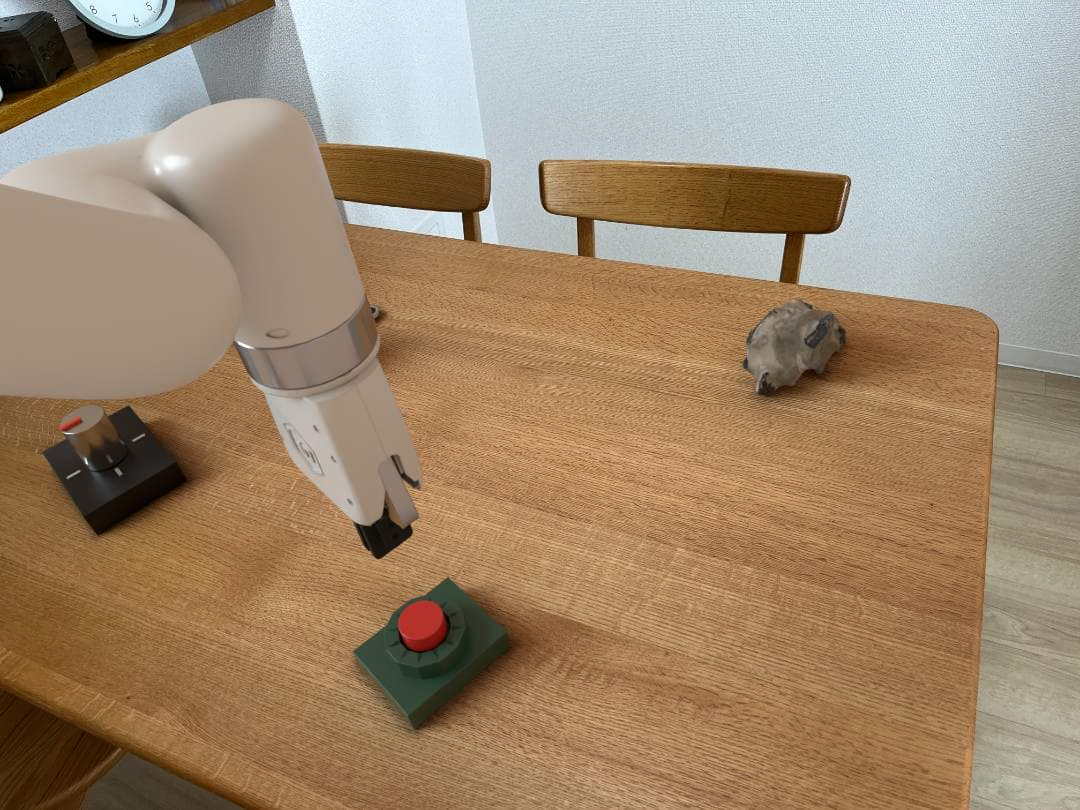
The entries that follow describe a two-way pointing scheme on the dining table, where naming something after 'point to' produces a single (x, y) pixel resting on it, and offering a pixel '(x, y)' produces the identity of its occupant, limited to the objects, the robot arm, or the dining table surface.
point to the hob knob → (94, 437)
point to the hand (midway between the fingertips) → (389, 541)
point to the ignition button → (422, 626)
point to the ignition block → (433, 655)
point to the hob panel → (117, 474)
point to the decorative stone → (791, 345)
